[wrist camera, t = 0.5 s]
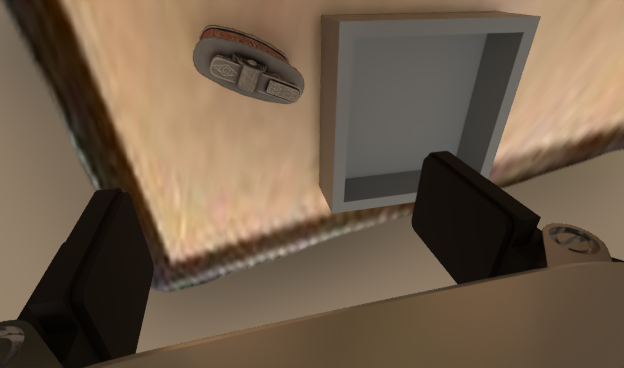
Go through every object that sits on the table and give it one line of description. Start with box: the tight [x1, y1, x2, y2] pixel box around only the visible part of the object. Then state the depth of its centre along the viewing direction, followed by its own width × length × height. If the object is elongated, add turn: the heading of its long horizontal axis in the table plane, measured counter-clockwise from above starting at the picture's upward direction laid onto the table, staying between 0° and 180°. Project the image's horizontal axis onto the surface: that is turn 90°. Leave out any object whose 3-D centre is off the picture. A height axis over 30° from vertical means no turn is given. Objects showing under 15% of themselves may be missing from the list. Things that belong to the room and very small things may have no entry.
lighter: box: [193, 25, 304, 104], centre depth 26 cm, size 8×3×10 cm, turn 67°
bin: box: [319, 11, 541, 213], centre depth 34 cm, size 18×18×6 cm
